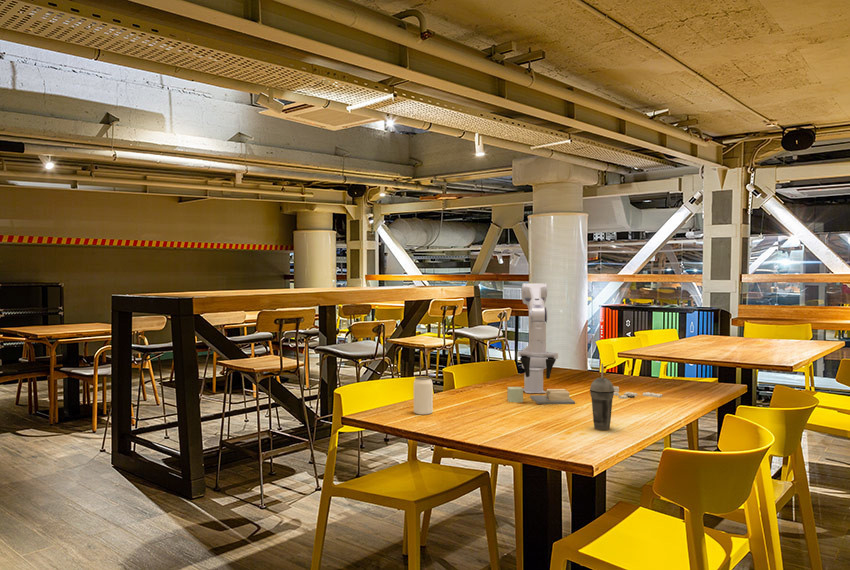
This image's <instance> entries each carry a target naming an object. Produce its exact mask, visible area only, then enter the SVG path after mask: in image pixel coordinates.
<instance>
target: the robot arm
mask: <svg viewBox="0 0 850 570" xmlns="http://www.w3.org/2000/svg"><path fill="white" fill-rule="evenodd" d="M521 297H522V299H521V300H522V304H524V305H527V309H528V345H527V346H526V347H524V348H523V349H522V350H519V351H517V356H518V357H520V358H519V360H520V361H519V362H520V363H521V368H522V369H524V373H523V374H524V376H523V377H524V378H523V379H524V383H523V384H524V387H521V388H522V389H523V393H524V392H525V394H546V390H544V370H545V369H546V371H545V378H546V379H547V380H549V379H550V378H551V374H552V369H553V366H554V365H555V363H556V361H557V360H558V359H559V352H548V351H547V323H548V309H547V306H546V305H545V304H546V302H547V297H548V284H547V283H546V282H544V283H540V282H539V283H536V282H535V283H531V282H530V283H529V282H528V283H525V282H523V283H522V285H521Z"/></svg>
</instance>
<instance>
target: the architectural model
mask: <svg viewBox="0 0 850 570" xmlns="http://www.w3.org/2000/svg"><path fill="white" fill-rule="evenodd" d="M613 387H614V395H613V396H617V397H618V399H623V400H624V399H625V400H627V399H634V398H636V397H637V396H638V393H637V392H632V391H631V392H630V391H625V392H624V393H623V394H622V395H620V393H619V392H620V387H619V386H615V385H613ZM642 396H643V397H650V398H651V397H653V398H661V397H663V394H662V393H655V392H649V391H647V392H643V393H642Z"/></svg>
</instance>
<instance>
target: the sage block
mask: <svg viewBox="0 0 850 570" xmlns="http://www.w3.org/2000/svg"><path fill="white" fill-rule="evenodd" d="M522 388H523V387H521V386H507V401H508V403H510V402H515V403H524V391H523V389H522Z"/></svg>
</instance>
